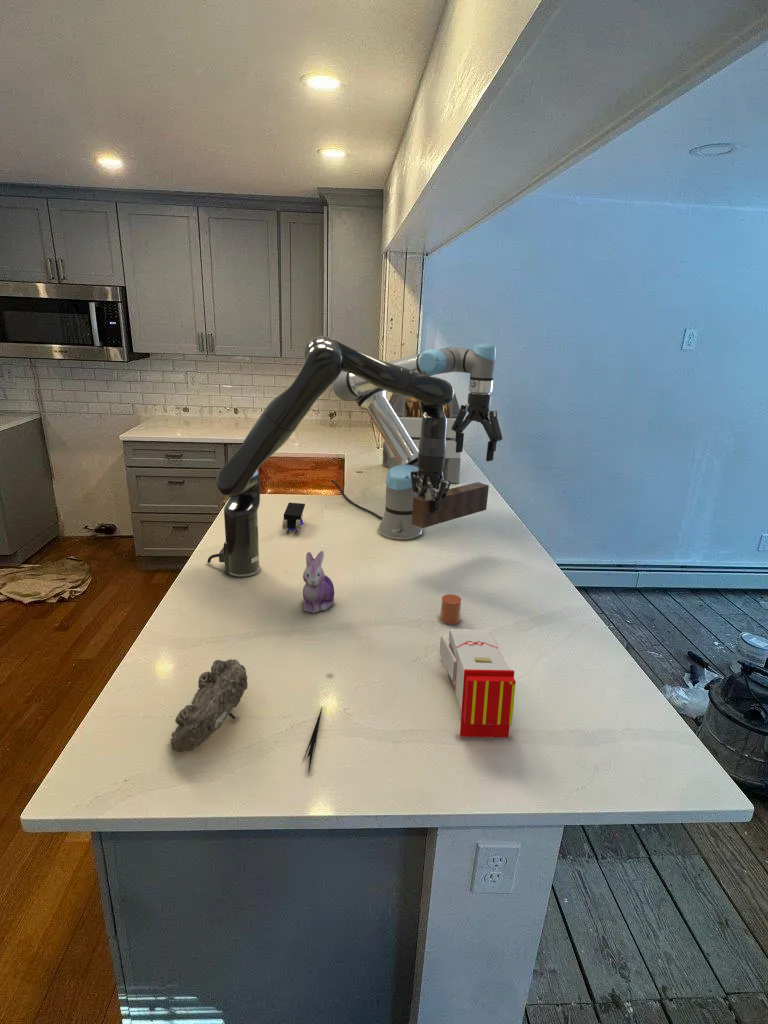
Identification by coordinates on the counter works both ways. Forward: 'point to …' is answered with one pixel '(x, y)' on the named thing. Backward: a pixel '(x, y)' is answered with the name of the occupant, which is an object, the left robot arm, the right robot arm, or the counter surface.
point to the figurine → (316, 585)
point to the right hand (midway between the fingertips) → (473, 456)
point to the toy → (479, 682)
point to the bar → (450, 505)
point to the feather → (313, 740)
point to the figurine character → (293, 517)
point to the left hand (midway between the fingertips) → (427, 510)
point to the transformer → (411, 421)
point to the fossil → (210, 704)
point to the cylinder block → (450, 609)
